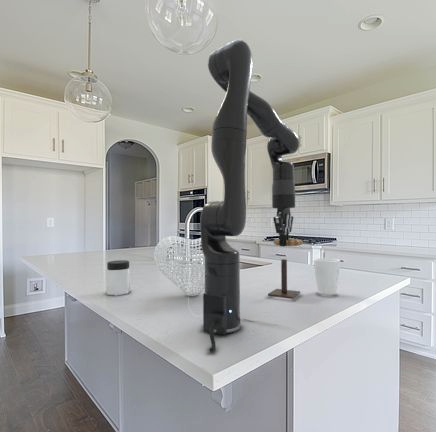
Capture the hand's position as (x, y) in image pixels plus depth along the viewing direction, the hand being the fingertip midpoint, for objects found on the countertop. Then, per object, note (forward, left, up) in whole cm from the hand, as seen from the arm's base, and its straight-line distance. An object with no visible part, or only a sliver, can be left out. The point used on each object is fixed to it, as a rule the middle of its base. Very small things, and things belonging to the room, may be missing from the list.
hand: (284, 245), depth 102 cm
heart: (-6, +33, -20) cm, 39 cm away
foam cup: (+19, -10, -20) cm, 29 cm away
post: (+9, +3, -19) cm, 22 cm away
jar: (-16, +61, -20) cm, 66 cm away
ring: (+4, 0, +1) cm, 4 cm away
